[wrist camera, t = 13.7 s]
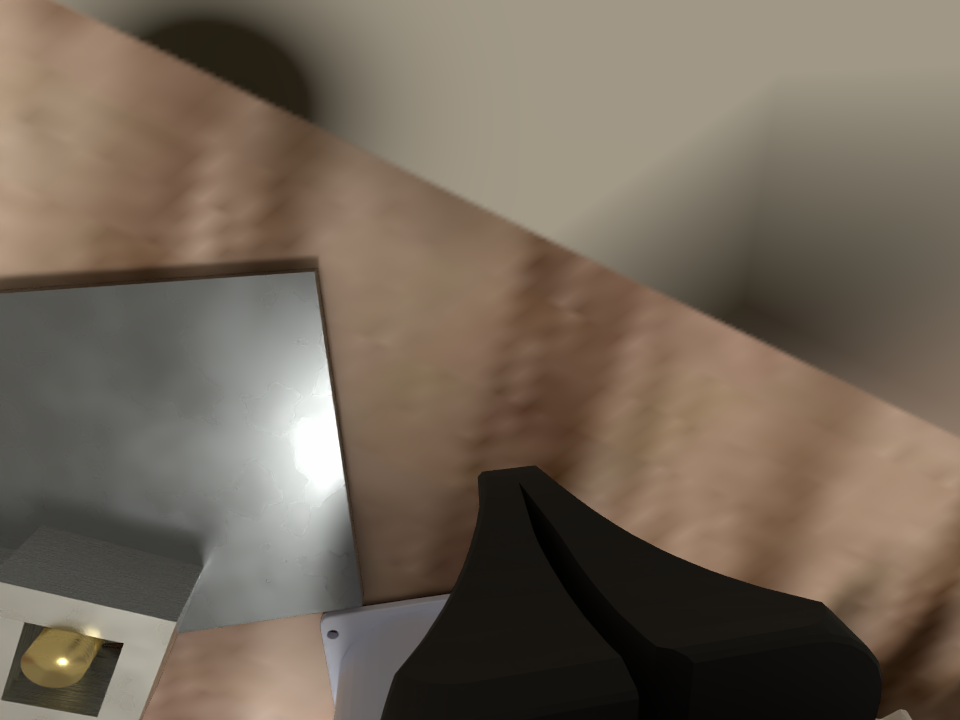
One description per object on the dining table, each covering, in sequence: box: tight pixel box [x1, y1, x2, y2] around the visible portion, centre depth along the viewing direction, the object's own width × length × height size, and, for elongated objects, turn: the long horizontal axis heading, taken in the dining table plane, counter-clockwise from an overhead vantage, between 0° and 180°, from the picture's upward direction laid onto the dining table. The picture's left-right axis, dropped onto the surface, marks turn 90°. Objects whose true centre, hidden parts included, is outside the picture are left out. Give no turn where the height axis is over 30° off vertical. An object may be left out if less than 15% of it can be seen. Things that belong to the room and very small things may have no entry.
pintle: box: [21, 627, 106, 688], centre depth 21 cm, size 2×2×4 cm
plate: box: [0, 268, 364, 644], centre depth 21 cm, size 15×23×1 cm, turn 93°
